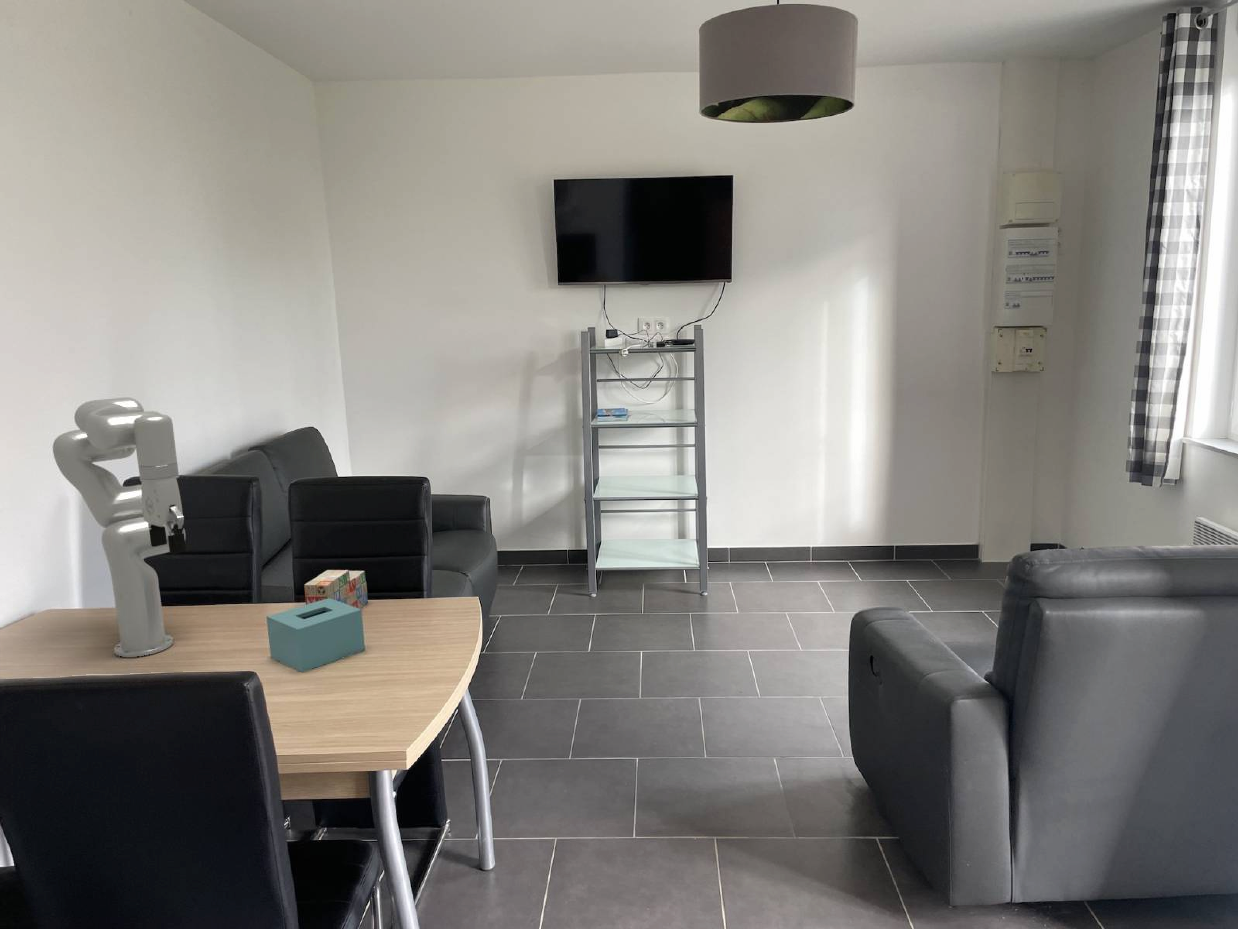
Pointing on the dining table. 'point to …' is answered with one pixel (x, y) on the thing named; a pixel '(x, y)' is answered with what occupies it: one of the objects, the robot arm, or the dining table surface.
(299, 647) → the coin box
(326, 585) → the stack of blocks
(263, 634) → the dining table surface
